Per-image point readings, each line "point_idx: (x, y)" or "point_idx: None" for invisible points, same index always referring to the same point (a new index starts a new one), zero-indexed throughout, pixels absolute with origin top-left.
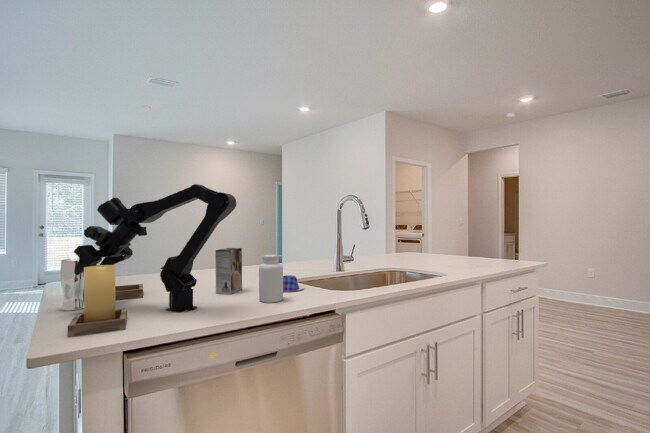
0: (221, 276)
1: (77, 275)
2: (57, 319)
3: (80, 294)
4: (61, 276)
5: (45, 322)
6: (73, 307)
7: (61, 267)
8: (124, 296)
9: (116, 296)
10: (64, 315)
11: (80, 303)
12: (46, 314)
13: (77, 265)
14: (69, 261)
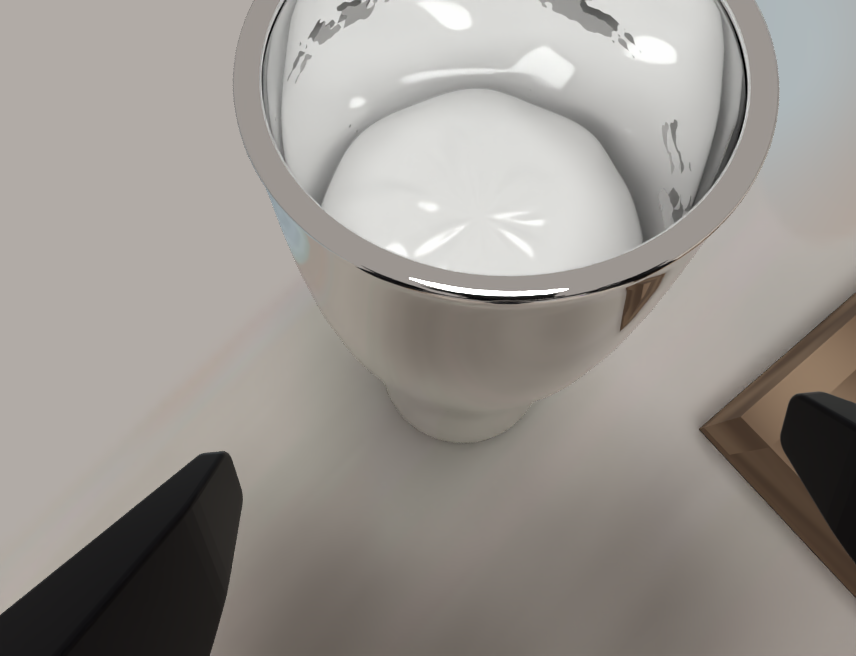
0: None
1: (382, 375)
2: None
3: (449, 413)
4: (323, 188)
5: (82, 505)
6: (400, 410)
7: (300, 88)
8: (849, 570)
9: (796, 509)
10: (261, 477)
11: (446, 429)
12: (279, 318)
13: (20, 611)
14: (254, 155)
